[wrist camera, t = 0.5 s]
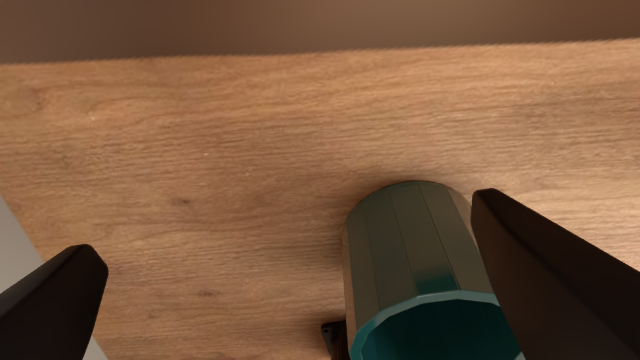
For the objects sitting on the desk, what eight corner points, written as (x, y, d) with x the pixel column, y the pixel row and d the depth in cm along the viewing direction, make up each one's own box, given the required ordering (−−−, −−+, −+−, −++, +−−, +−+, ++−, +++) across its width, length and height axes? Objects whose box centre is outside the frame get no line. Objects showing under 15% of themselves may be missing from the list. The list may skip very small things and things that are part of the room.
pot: (474, 269, 30) (528, 385, 22) (353, 287, 32) (364, 402, 24) (477, 168, 25) (551, 277, 17) (329, 195, 26) (334, 307, 18)
